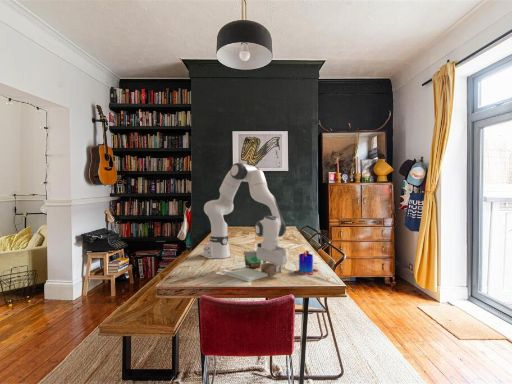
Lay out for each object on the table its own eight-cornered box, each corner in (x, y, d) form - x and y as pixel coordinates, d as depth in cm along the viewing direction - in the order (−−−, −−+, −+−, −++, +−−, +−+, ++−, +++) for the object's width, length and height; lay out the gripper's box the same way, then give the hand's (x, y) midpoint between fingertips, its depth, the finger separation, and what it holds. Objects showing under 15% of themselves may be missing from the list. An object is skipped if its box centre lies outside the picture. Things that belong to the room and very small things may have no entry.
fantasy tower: (312, 275, 168) (312, 253, 167) (292, 272, 173) (292, 251, 173) (319, 270, 178) (319, 249, 178) (299, 267, 184) (299, 247, 183)
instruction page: (214, 273, 172) (214, 272, 172) (225, 269, 179) (225, 269, 179) (223, 275, 169) (223, 274, 169) (233, 271, 176) (233, 270, 176)
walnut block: (261, 273, 172) (261, 264, 172) (272, 270, 178) (272, 261, 178) (269, 275, 167) (269, 266, 167) (280, 272, 174) (280, 263, 174)
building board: (226, 274, 170) (226, 271, 170) (245, 269, 179) (245, 267, 179) (248, 281, 157) (248, 279, 157) (267, 276, 167) (267, 273, 167)
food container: (247, 270, 178) (247, 253, 178) (243, 267, 184) (243, 251, 183) (266, 267, 184) (266, 250, 184) (261, 265, 189) (261, 249, 189)
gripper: (289, 247, 167) (289, 272, 168) (262, 242, 182) (262, 265, 182) (281, 248, 163) (281, 274, 163) (254, 243, 178) (254, 267, 178)
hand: (271, 269), depth 173 cm, fingers closed on walnut block, 6 cm apart
